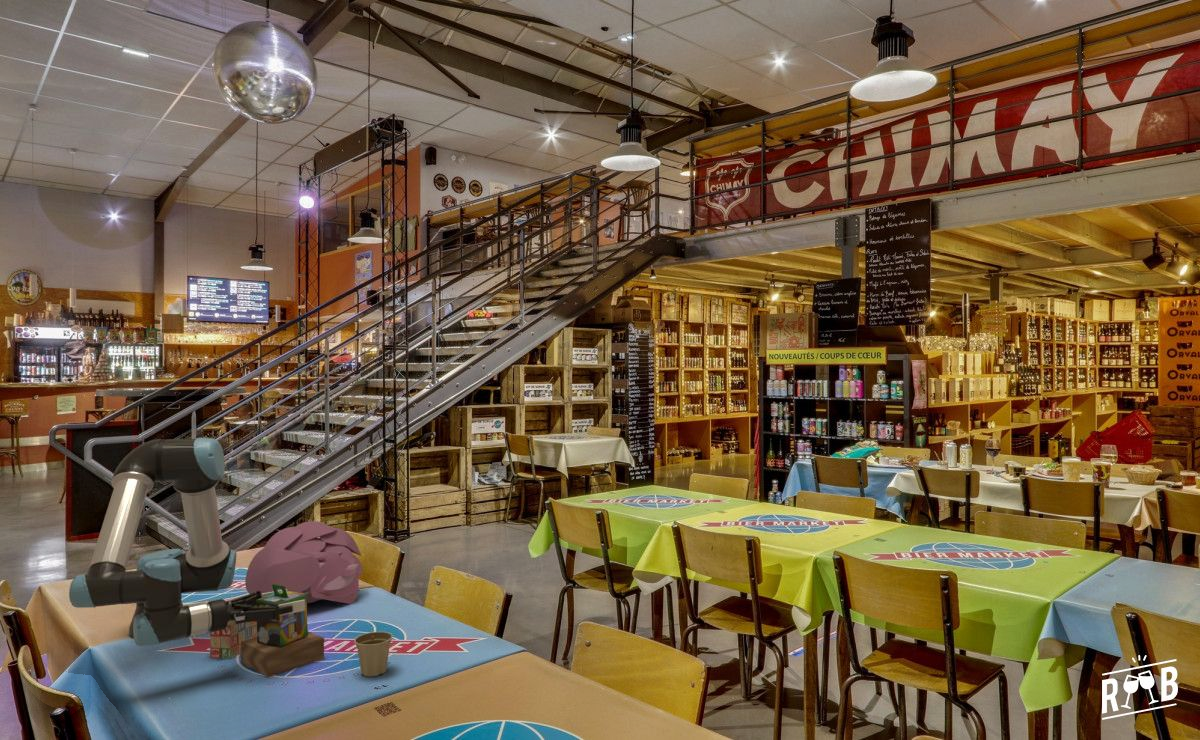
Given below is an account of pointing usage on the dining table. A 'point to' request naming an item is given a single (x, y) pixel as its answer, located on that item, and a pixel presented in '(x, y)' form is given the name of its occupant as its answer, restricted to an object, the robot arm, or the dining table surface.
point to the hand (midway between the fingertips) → (295, 599)
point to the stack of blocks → (231, 639)
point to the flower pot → (373, 652)
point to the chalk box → (282, 619)
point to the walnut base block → (282, 654)
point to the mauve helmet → (308, 563)
